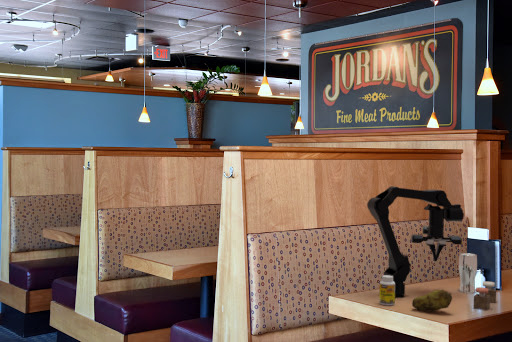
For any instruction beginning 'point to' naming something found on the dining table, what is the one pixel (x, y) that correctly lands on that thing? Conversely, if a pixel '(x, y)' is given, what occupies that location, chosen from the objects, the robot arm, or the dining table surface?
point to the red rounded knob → (482, 291)
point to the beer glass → (467, 272)
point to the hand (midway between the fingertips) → (435, 261)
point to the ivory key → (489, 285)
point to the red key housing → (482, 302)
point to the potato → (433, 301)
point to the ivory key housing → (492, 295)
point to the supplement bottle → (387, 290)
